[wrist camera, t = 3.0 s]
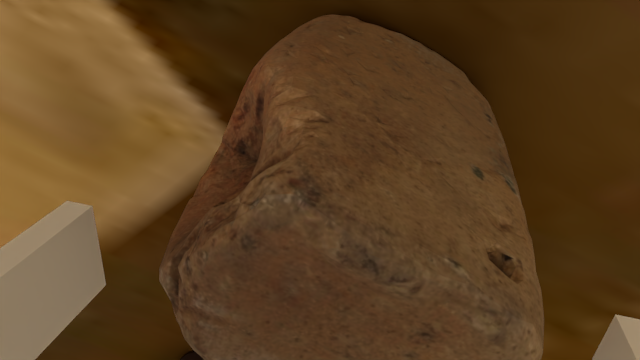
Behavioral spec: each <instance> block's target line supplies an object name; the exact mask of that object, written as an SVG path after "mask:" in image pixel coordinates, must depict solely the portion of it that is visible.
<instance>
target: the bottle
mask: <svg viewBox="0 0 640 360" xmlns="http://www.w3.org/2000/svg"><path fill="white" fill-rule="evenodd" d="M180 360H204V359H203V358H202V357H201V356H200V355H199V354H197V353H196V352H193V353H189V354H186V355H185V356H184V357H182V358H181V359H180Z"/></svg>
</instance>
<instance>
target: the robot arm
mask: <svg viewBox="0 0 640 360" xmlns="http://www.w3.org/2000/svg"><path fill="white" fill-rule="evenodd" d="M105 286H106V282H105V276H104V270H103V264H102V258H101V253H100V247H99V241H98V235H97V229H96V224H95V218H94V212H93V206H90V205H85V204H81V203H76V202H71V201H66V202H65V203H63V204H62V205H60V206H59V207H58V208H56V209H55V210H53V211H52V212H50V213H49V214H48V215H46V216H45V217H43V218H42V219H41V220H39V221H38V222H36V223H35V224H34V225H32V226H31V227H29V228H28V229H27V230H25V231H24V232H22V233H21V234H19V235H18V236H17V237H15V238H14V239H12V240H11V241H10V242H8V243H7V244H5V245H4V246H3V247H1V248H0V360H35V359H36V358H37V357H38V356H39V355H40V354H41V353H42V352H43V350H44V349H45V348H46V347H47V346H48V345H49V344H50V343H51V342H52V341H53V340H54V339H55V338H56V337H57V336H58V335H59V334H60V333H61V332H62V331H63V330H64V329H65V327H66V326H67V325H68V324H69V323H70V322H71V321H72V320H73V319H74V318H75V317H76V316H77V315H78V314H79V313H80V312H81V311H82V310H83V309H84V308H85V307H86V305H87V304H88V303H89V302H90V301H91V300H92V299H93V298H94V297H95V296H96V295H97V294H98V293H99V292H100V291H101V290H102V289H103V288H104V287H105ZM592 360H640V320H639V319H634V318H629V317H625V316H620V315H615V316H614V318H613V320H612V322H611V324H610V326H609V328H608V330H607V332H606V334H605V336H604V337H603V339H602V341H601V343H600V345H599V347H598V349H597V351H596V353H595V355H594V357H593V359H592Z"/></svg>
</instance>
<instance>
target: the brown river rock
mask: <svg viewBox="0 0 640 360" xmlns="http://www.w3.org/2000/svg"><path fill="white" fill-rule="evenodd" d="M159 281H160V283H161V284H162V286H163V288H164V290H165V292H166V293H167V295H168V297H169V299H170V300H171V302H172V305H173V310H174V314H175V316H176V320H177V321H178V323H179V325H180V328H181V330H182V333H183V336H184V338H185V340H186V341H187V342H188V343H189V345H190V346H191V348H192V349H193V350H194V351H195V352H196V353H197V354H199V355H200V356H201V357H202V358H203V359H204V360H541V357H542V353H543V334H544V313H543V303H542V294H541V288H540V284H539V281H538V277H537V274H536V267H535V259H534V251H533V245H532V239H531V237H530V234H529V232H528V227H527V222H526V217H525V211H524V209H523V206H522V203H521V199H520V194H519V190H518V186H517V182H516V179H515V177H514V174H513V170H512V166H511V162H510V159H509V156H508V152H507V148H506V146H505V143H504V140H503V137H502V134H501V132H500V130H499V127H498V124H497V122H496V119H495V116H494V114H493V112H492V110H491V107H490V105H489V103H488V101H487V100H486V99H485V97H484V96H483V95H482V94H481V93H480V92H479V91H478V90H477V89H476V88H475V87H474V86H473V85H472V84H471V82H470V81H469V80H468V78H467V76H466V75H465V73H464V72H463V71H461V70H460V69H459V68H457V67H456V66H455V65H453V64H452V63H451V62H449V61H448V60H446V59H445V58H443V57H442V56H440V55H439V54H438V53H436V52H434V51H432V50H431V49H429V48H427V47H425V46H424V45H422V44H421V43H420V42H417V41H414V40H412V39H410V38H409V37H407V36H405V35H403V34H401V33H397V32H394V31H390V30H387V29H385V28H383V27H381V26H378V25H375V24H370V23H366V22H363V21H361V20H359V19H357V18H355V17H351V16H341V15H334V14H331V15H325V16H321V17H318V18H315V19H313V20H311V21H309V22H307V23H305V24H303V25H301V26H300V27H298V28H296V29H295V30H294V31H292V32H291V33H290V34H289V35H287V36H286V37H284V38H283V39H282V40H280V41H279V42H277V43H276V44H275V45H274V46H273V47H272V48H271V49H270V50H269V51H268V52H267V53H266V54H265V55H264V56H263V57H262V58H261V59H260V61H259V62H258V63H257V64H256V66H255V67H254V68H253V69H252V71H251V73H250V75H249V77H248V79H247V81H246V83H245V86H244V88H243V90H242V92H241V94H240V97H239V99H238V102H237V104H236V107H235V109H234V111H233V114H232V116H231V119H230V121H229V123H228V126H227V128H226V130H225V133H224V135H223V139H222V143H221V145H220V147H219V149H218V151H217V152H216V154H215V156H214V158H213V159H212V162H211V164H210V166H209V168H208V170H207V171H206V173H205V174H204V175H203V176H202V178H201V180H200V182H199V184H198V187H197V189H196V191H195V194H194V196H193V198H191V199H190V200H189V202H188V203H187V205H186V207H185V209H184V211H183V213H182V215H181V217H180V219H179V221H178V223H177V225H176V227H175V229H174V231H173V233H172V235H171V238H170V241H169V243H168V246H167V249H166V252H165V254H164V257H163V260H162V262H161V265H160V268H159Z"/></svg>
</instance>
